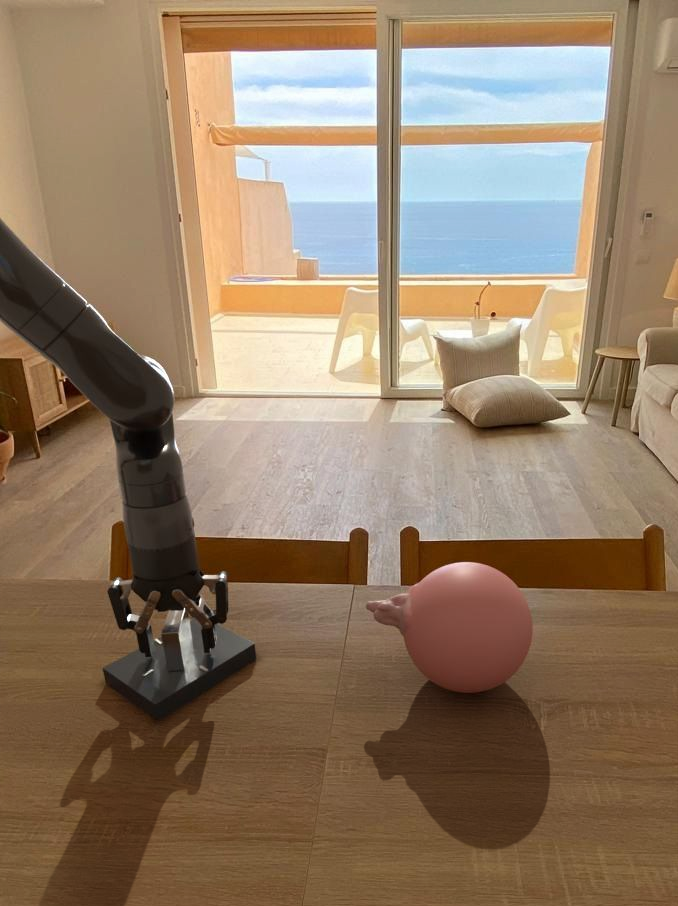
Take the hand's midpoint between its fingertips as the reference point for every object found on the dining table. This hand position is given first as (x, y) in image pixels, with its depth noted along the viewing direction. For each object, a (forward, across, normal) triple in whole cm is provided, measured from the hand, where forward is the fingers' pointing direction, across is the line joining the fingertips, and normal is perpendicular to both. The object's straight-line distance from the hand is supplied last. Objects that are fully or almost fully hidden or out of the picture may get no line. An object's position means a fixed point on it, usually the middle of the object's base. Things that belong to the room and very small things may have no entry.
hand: (179, 651), depth 87 cm
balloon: (+3, +33, -5) cm, 34 cm away
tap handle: (+1, 0, 0) cm, 1 cm away
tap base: (+3, 0, 0) cm, 3 cm away
